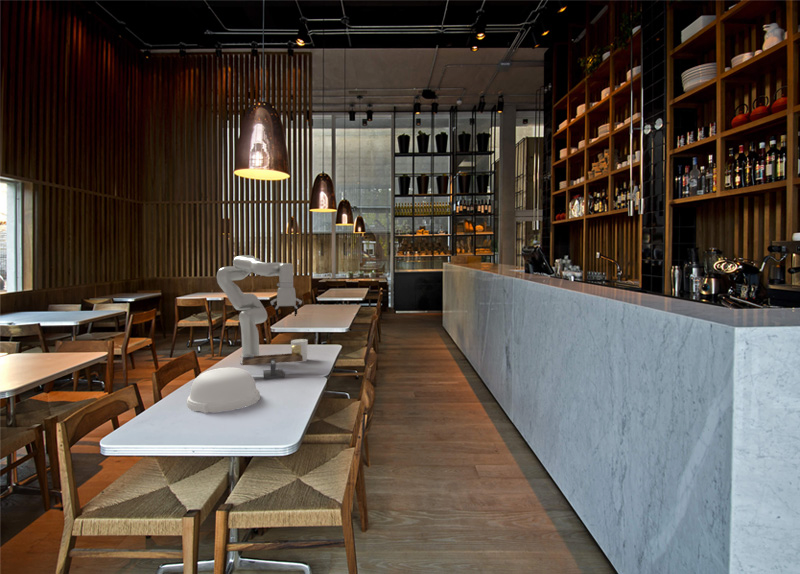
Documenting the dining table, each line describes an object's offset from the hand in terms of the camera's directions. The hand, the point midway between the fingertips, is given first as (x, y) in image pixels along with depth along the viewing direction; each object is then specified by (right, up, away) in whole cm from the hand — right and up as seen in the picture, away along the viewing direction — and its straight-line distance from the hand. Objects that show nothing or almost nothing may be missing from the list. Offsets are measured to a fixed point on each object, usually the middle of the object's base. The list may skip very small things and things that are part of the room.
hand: (286, 316), depth 270 cm
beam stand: (-3, -30, -16) cm, 34 cm away
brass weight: (+9, -21, -13) cm, 26 cm away
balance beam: (-3, -22, -17) cm, 28 cm away
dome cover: (-13, -34, -60) cm, 70 cm away
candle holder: (+4, -28, +17) cm, 33 cm away
